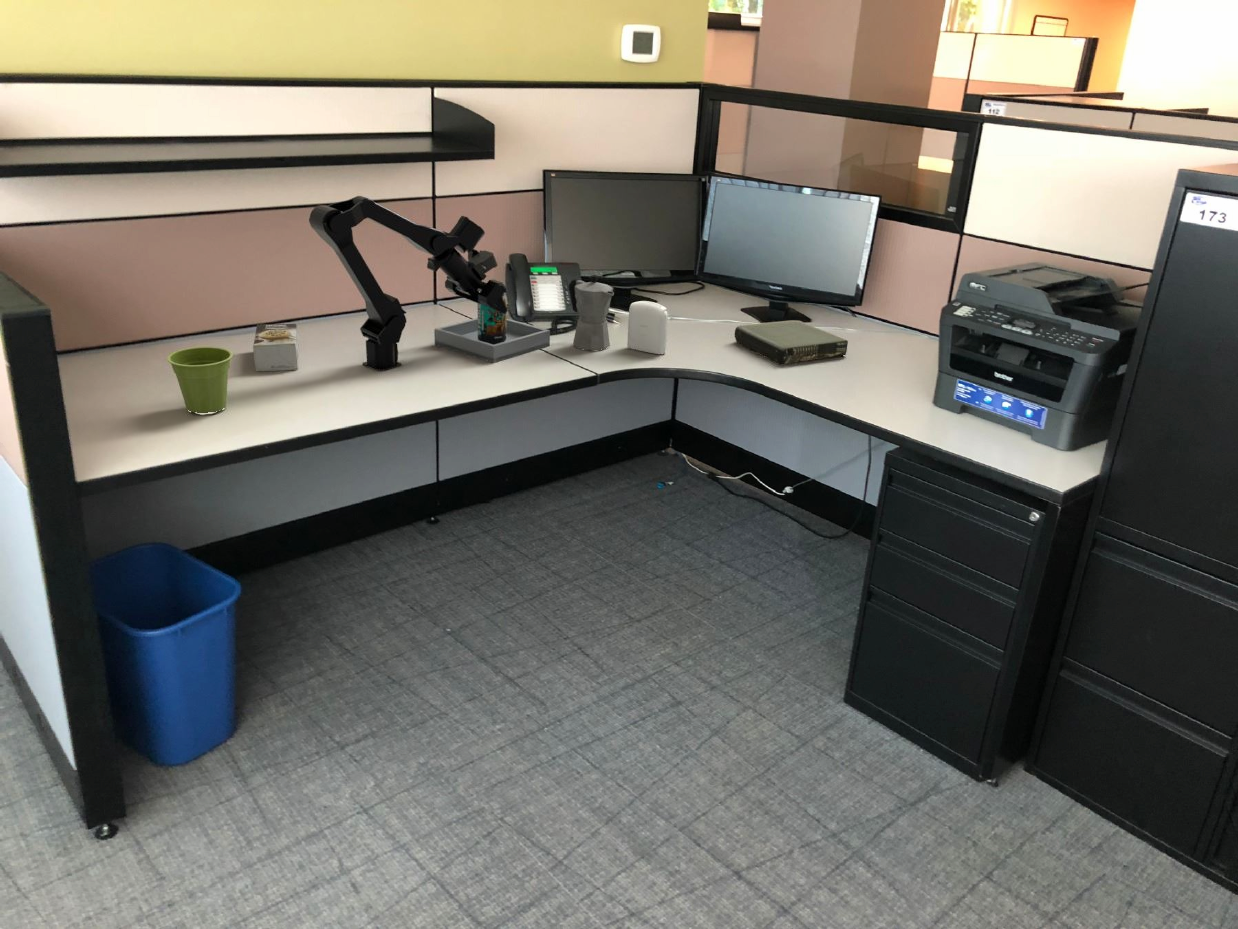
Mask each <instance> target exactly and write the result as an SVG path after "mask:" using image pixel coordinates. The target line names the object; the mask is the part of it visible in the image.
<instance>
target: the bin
mask: <svg viewBox="0 0 1238 929" xmlns="http://www.w3.org/2000/svg"><path fill="white" fill-rule="evenodd" d="M550 344H551V330H550V329H547V328H543V327H539V326H535V325H532V324H529V323H524V322H522V321H521V322H520V321H518V320H513V319H510V318H507V322H506V340H505V341H504V342H502V343H498V344H495V345H493V344H489V343H486V342H483V341H479V340H478V317H476V318H471V319H468V320H465V321H464V320H463V321H461V322H456V323H452V324H448V325H444V326H441V327H436V328H434V345H435V346H438V347H442V348H445V349H447V350H450V351H454V352H457V353H461V354H464V355H467V356H469V357H473V358H477V359H480V360H483V361H485V362H486V361H487V362H488V363H493V364H495V363H498V362H502V361H504V360H508V359H511V358H514V357H515V358H516V357H518V356H521V355H524V354H527V353H530V352H534V351H537V350H541V349H545V348H547V347H550Z"/></svg>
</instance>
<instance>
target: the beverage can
mask: <svg viewBox="0 0 1238 929" xmlns="http://www.w3.org/2000/svg"><path fill="white" fill-rule="evenodd" d="M502 298H503V300H504V303H505V305H506V308H507V305H508V304H507V303H508V302H507V299H506V298H505V293H504V294H503V295H502ZM507 309H508V308H507ZM507 312H508V311H507ZM507 312H506V314H504V313H501V312H499V311H496V310H494V309H491V308H489V307H486V306H484V304H482V303H481V302H480V301H479V300H478V303H477V318H478V340H479V341H483V342H486V343H489V344H493V345H495V344H498V343H502V342H504V341H505V340H506V322H507V319H508V317H507V316H508V314H507Z"/></svg>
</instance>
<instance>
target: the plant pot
mask: <svg viewBox="0 0 1238 929" xmlns="http://www.w3.org/2000/svg"><path fill="white" fill-rule="evenodd" d="M233 354H234V353H233V352H232V351H231V350H229V349H226V348H224V347H223V348H222V347H217V346H196V347H195V346H193V347H188V348H183V349H179V350H176V351H174V352H173V351H172V353H170V354H168V356H167V357H166V360H167V361H168V363H169V364H171V365H170V366H171V368H172V371H173V373H174V374H175V377H176V379H177V382H178V384H179V385H178V386H179V388H180V391H181V394H182V395H181V396H182V398H183V401H184V404H185V408H186V411H187V410H189V411H191V412H197V413H208V412H216V411H219V410H222V409H223V408H225V407H226V408H227V397H228V396H227V395H228V380H229V369H230V364H231V359H232V358H233ZM226 408H225V409H226ZM219 412H220V411H219Z"/></svg>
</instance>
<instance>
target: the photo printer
mask: <svg viewBox="0 0 1238 929" xmlns="http://www.w3.org/2000/svg"><path fill="white" fill-rule="evenodd" d="M627 323H628V325H627V345H626V346H627V349H630V348H631V350H635V349H636V351H640V352H644V353H649V354H650V353H651V354H654V355H655V354H656V355H660V354H661V355H663V354H662V353H664V354H665V353H666V351H667V343H668V339H667V338H668V325H669V310H668V308H667V307H665V306H664V305H662V304H659V303H657V302H653V301H649V300H648V301H647V300H640V301H635V302H632V303H631V304H630V306H629V310H628V322H627Z"/></svg>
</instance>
